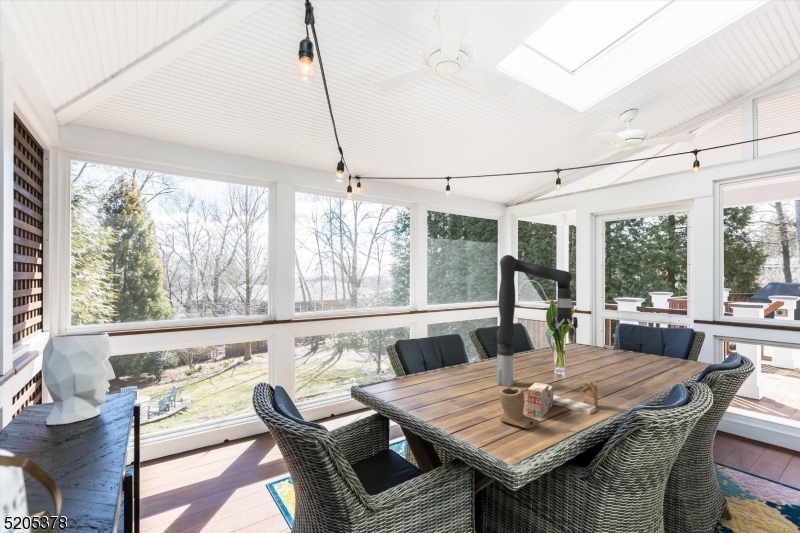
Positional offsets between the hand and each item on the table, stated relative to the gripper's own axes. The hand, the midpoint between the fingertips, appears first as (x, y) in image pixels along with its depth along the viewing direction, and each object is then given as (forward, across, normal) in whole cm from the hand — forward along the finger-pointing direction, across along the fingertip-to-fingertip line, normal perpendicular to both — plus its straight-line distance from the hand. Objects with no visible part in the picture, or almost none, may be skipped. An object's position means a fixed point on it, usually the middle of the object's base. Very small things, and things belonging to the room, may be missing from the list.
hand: (564, 335), depth 203 cm
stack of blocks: (+30, -26, -30) cm, 50 cm away
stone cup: (+30, -44, -46) cm, 71 cm away
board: (+30, -9, -26) cm, 41 cm away
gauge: (+30, -2, -28) cm, 41 cm away
